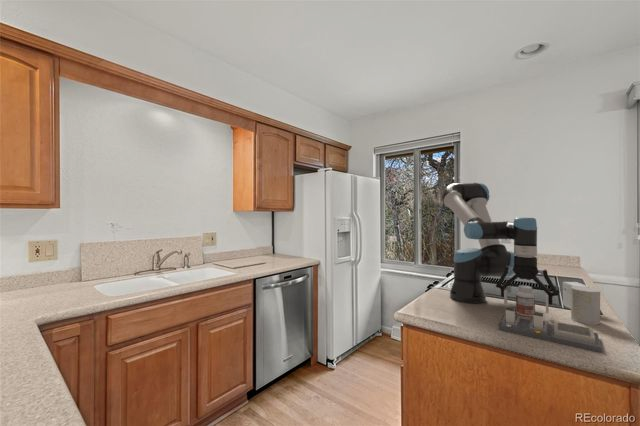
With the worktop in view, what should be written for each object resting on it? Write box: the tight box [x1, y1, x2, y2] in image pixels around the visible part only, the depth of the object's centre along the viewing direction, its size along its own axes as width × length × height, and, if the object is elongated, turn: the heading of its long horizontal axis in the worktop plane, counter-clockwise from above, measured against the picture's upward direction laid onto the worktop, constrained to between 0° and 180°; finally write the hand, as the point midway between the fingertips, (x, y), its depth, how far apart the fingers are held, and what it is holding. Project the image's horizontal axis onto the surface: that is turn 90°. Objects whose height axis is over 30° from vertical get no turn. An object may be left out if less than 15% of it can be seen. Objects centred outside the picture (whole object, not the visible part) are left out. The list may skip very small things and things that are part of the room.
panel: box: [497, 313, 603, 353], centre depth 97 cm, size 26×13×3 cm, turn 50°
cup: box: [570, 286, 601, 326], centre depth 108 cm, size 8×8×12 cm
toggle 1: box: [505, 306, 516, 324], centre depth 103 cm, size 2×2×5 cm
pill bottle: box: [515, 284, 536, 317], centre depth 115 cm, size 6×6×11 cm
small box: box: [562, 281, 590, 310], centre depth 121 cm, size 8×6×10 cm
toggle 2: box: [533, 311, 544, 330], centre depth 98 cm, size 2×2×5 cm
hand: (525, 308), depth 115 cm, fingers open, 13 cm apart
